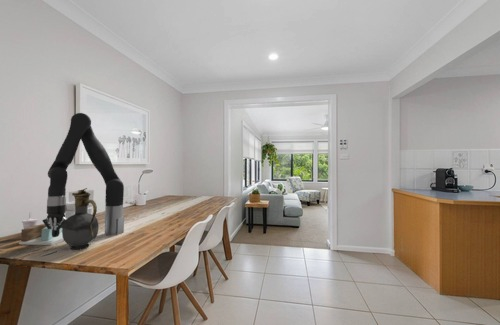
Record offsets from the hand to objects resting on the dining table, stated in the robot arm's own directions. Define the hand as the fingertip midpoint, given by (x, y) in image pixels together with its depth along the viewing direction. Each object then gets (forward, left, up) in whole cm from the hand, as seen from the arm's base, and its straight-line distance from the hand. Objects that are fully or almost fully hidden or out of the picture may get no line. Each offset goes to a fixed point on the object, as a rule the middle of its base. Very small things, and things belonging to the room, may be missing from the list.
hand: (55, 236), depth 113 cm
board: (+7, -6, -3) cm, 10 cm away
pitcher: (-20, +7, -3) cm, 21 cm away
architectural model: (+16, -34, -4) cm, 38 cm away
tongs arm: (+8, -7, -2) cm, 10 cm away
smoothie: (+23, -8, -3) cm, 25 cm away
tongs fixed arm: (+14, -4, -2) cm, 14 cm away
